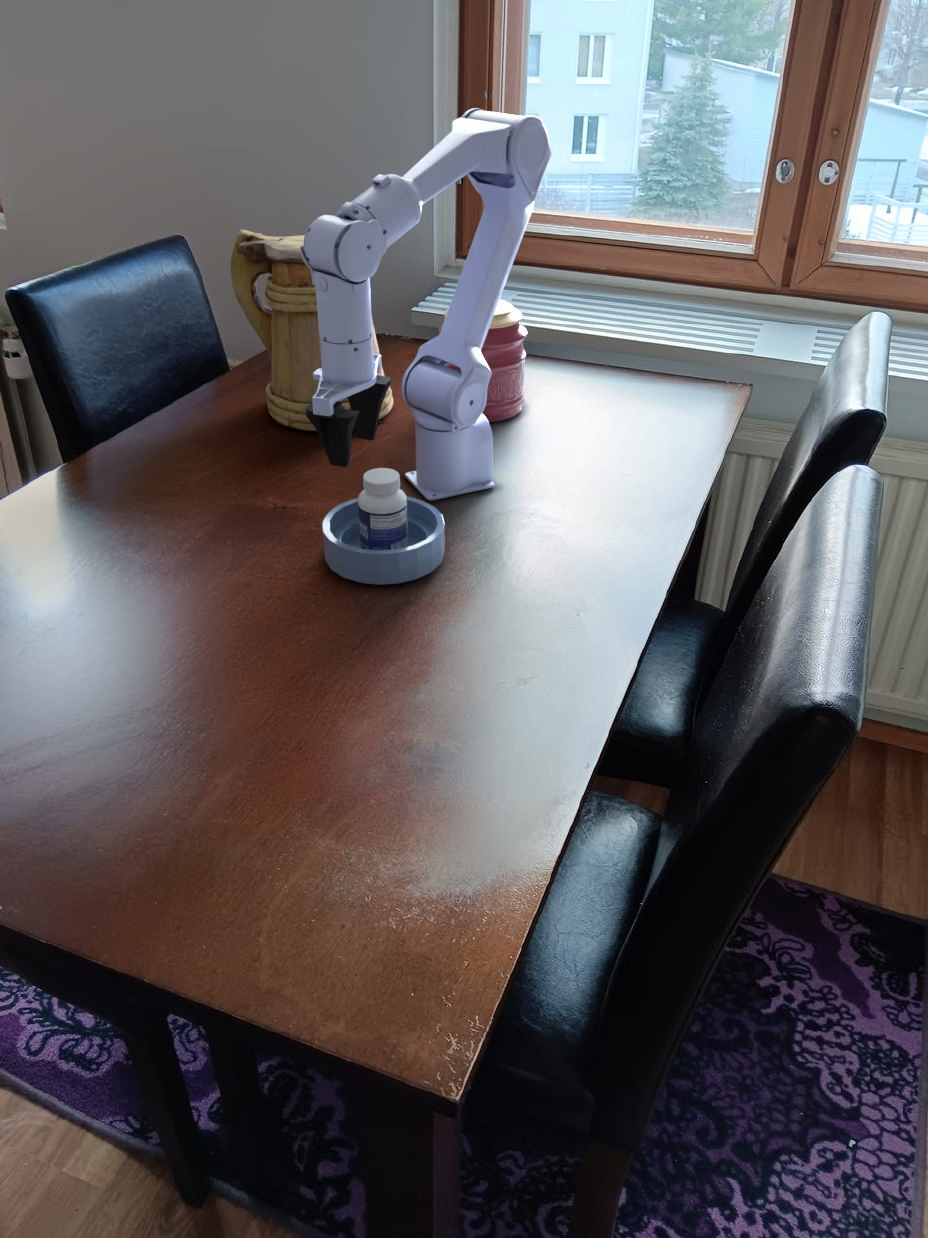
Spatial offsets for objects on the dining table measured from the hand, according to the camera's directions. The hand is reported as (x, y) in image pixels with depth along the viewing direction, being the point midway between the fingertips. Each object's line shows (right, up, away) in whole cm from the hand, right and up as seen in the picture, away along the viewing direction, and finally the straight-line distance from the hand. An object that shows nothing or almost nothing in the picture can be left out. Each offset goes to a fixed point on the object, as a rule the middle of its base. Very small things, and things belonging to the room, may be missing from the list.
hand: (352, 451), depth 112 cm
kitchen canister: (+16, +13, +36) cm, 41 cm away
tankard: (-9, +12, +35) cm, 38 cm away
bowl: (+4, -12, -1) cm, 13 cm away
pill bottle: (+4, -12, -2) cm, 13 cm away
